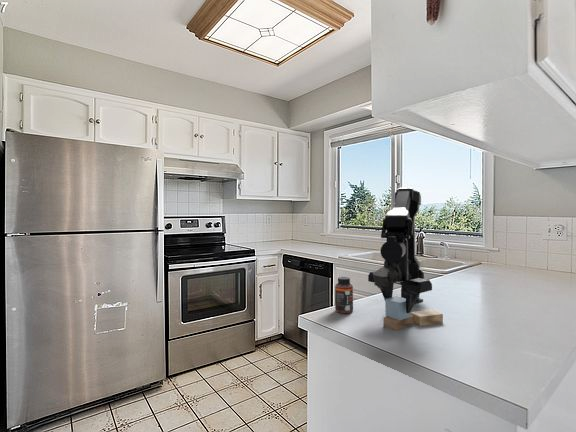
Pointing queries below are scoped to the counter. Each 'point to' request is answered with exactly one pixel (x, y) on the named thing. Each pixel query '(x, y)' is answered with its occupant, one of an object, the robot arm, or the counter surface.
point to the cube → (396, 308)
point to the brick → (427, 317)
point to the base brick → (397, 322)
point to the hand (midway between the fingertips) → (398, 309)
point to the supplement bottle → (344, 295)
